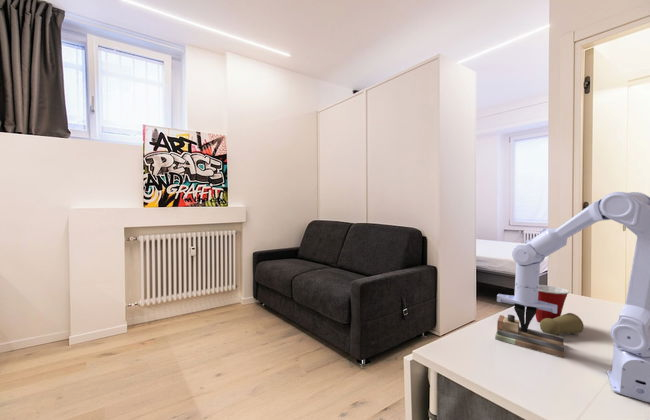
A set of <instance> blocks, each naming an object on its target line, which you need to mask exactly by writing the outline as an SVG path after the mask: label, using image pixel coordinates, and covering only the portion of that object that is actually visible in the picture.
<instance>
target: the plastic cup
mask: <svg viewBox="0 0 650 420" xmlns="http://www.w3.org/2000/svg"><path fill="white" fill-rule="evenodd" d="M569 293H570V291H569V290H568V289H566V288H562V287H558V286H554V285H553V286H552V285H545V284H539V291H538V300H539V301H543V302H547V303H550V304H555V305H557V314H556V313H552V312H550V311H545V310H540V309H537V311H536V314H535V319H536V321H537V323H539V324H540V322H541V321H542V320H543V319H545V318H550V319H553V318H556V317H559V316H561V315H562V313H563V312H562V311H563V309H564V305H565V301H566V299H567V297H568V296H567V295H568V294H569Z"/></svg>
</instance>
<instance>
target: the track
mask: <svg viewBox="0 0 650 420" xmlns="http://www.w3.org/2000/svg"><path fill="white" fill-rule="evenodd" d="M504 317H505V315H499V317H498V319H497V324H496V325H497V327H496V328H497V329H496V333H495V334H494V335H495V336H494V339H495V340H497V341H500V342H504V343H508V344H512V345H515V346H519V347H521V348H522V347H523V348H525V349H526V348H527V349H530V350H534V351H538V352H540V353H545V354H548V355H552V356H555V357H559V358H563V359H565V341H564V340H565V338H564V337H563V336H561V335H553V334H548V333H544V332H542V331H540V330H535V329H531V328H528V329H527V332H523V331H521V326H519V334H514V333H510V332H506V331H502V322H503V319H504Z"/></svg>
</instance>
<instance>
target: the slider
mask: <svg viewBox="0 0 650 420" xmlns="http://www.w3.org/2000/svg"><path fill="white" fill-rule="evenodd" d="M519 327H520V321H519V319H516V316H515V315H514V314H507V317H506V316H504V319H503V322H502V331H506V332H510V333H514V334H519Z"/></svg>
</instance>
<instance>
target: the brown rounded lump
mask: <svg viewBox="0 0 650 420" xmlns="http://www.w3.org/2000/svg"><path fill="white" fill-rule="evenodd" d="M584 327H585V325H584V323H583V321H582V319H581V318H580V317H579V316H578V315H576V314H575V313H573V312H567V313H564V314H561V316H559V317H556V318H553V319H550V318H545V319H543V320H542V321H541V322H540V323H539V328H540V330H541V332H544V333H548V334H553V335H557V336H559V335H561V334H562V335H563V334H581V333H582V332H583V331H584Z"/></svg>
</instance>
